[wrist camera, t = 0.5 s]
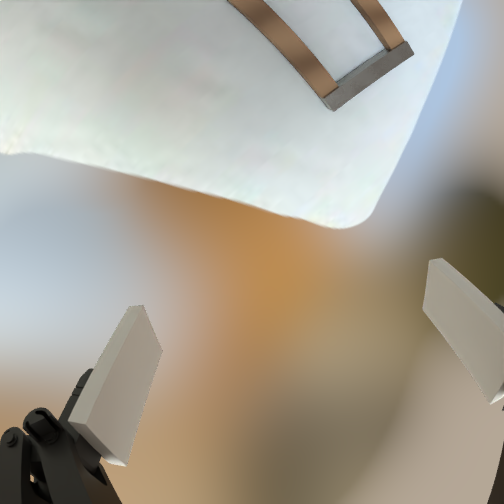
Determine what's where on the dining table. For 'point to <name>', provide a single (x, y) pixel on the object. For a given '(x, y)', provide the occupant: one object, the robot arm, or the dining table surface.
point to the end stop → (366, 75)
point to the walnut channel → (298, 52)
